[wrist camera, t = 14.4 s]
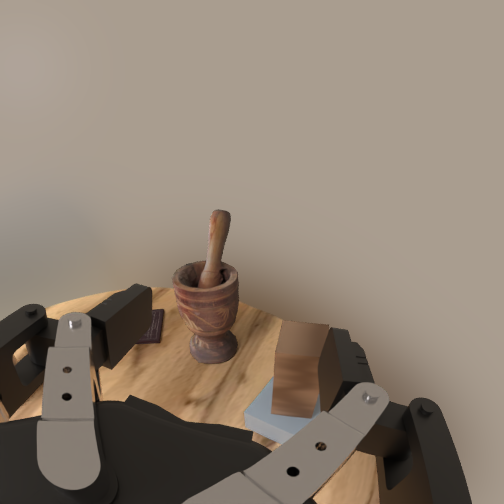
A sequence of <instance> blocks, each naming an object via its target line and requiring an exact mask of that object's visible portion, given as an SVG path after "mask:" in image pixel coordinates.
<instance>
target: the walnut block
mask: <svg viewBox="0 0 504 504" xmlns="http://www.w3.org/2000/svg"><path fill="white" fill-rule="evenodd" d="M328 332H329V325H324V324H313V323H304V322H295V321H286V320H283V322H282V326H281V330H280V335H279V339H278V343H277V347H276V351H275V364H274V379H273V393H272V406H271V414H275V415H282V416H290V417H299V418H309V419H311V418H312V415H313V412H314V408H315V405H316V402H317V398H318V395H319V381H318V362H319V358H320V355H321V352H322V349H323V346H324V343H325V340H326V337H327V335H328Z"/></svg>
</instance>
